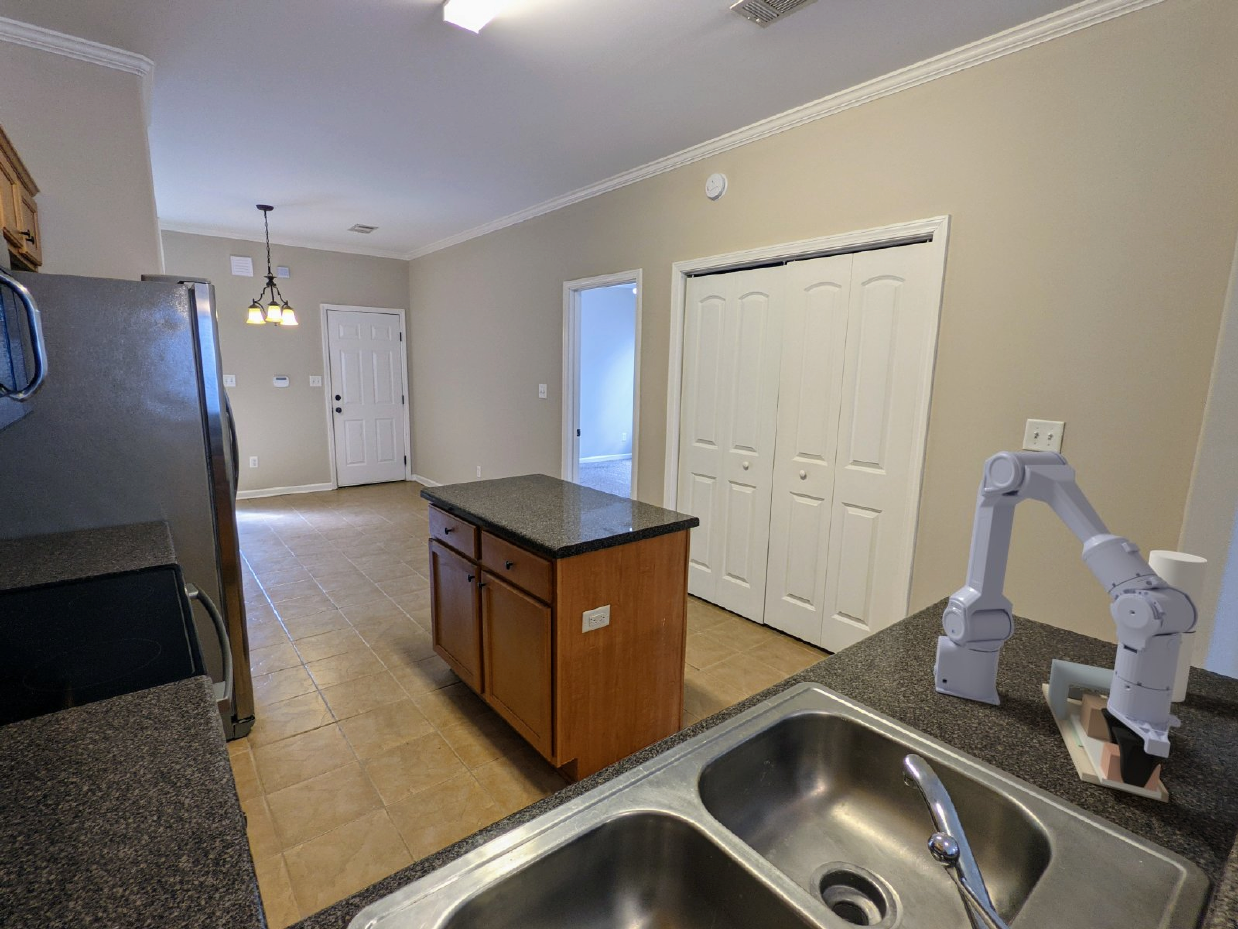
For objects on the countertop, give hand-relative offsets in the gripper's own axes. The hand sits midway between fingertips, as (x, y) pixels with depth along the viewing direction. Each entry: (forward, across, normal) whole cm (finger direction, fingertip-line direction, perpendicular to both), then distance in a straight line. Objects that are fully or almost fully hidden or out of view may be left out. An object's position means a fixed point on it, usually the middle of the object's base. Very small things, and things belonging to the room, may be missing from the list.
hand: (1128, 775), depth 76 cm
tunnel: (+3, +19, 0) cm, 19 cm away
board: (+3, +14, 0) cm, 14 cm away
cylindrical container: (+3, +37, -14) cm, 40 cm away
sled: (+1, +7, 0) cm, 7 cm away
